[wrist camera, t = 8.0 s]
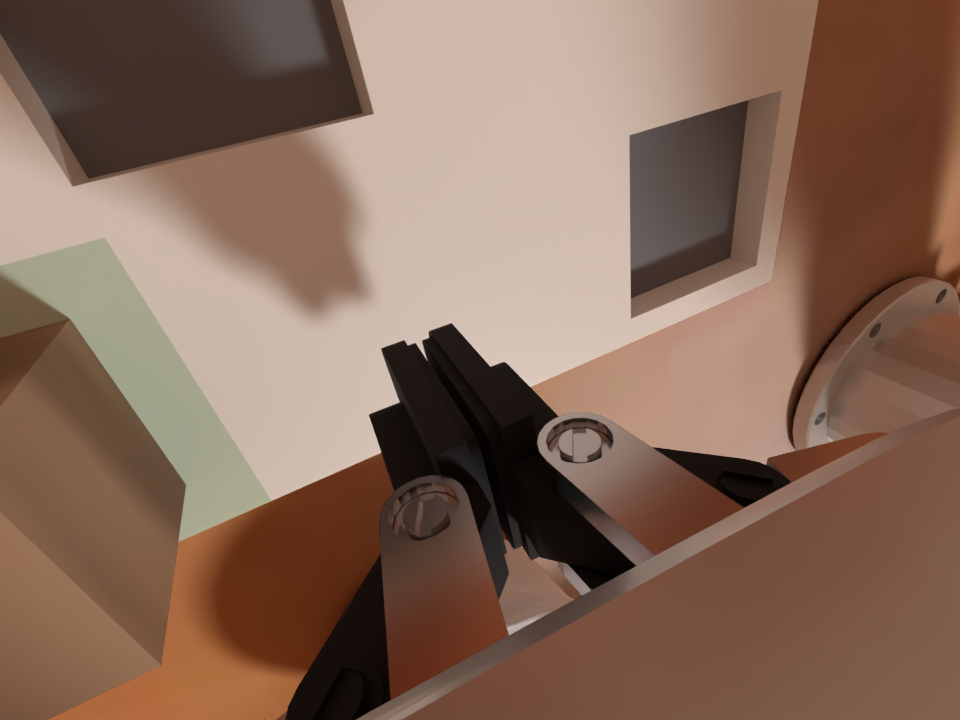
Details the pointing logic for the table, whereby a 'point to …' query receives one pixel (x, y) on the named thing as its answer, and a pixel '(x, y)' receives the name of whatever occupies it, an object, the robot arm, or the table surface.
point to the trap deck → (376, 198)
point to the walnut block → (77, 528)
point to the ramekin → (527, 591)
